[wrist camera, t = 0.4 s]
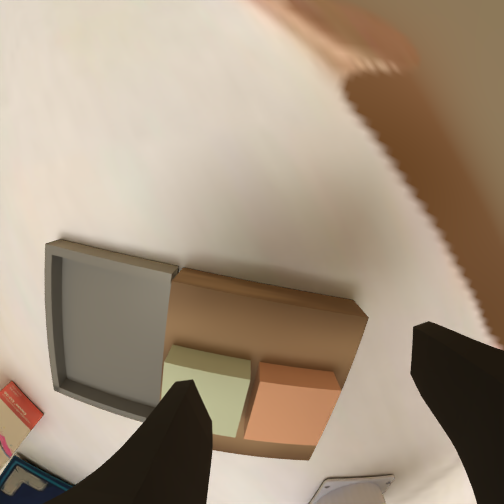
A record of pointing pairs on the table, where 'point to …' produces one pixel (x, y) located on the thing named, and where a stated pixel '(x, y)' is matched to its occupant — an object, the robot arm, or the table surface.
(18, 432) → the ink cartridge box
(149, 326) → the tray
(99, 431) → the table surface
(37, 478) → the book
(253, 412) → the tile
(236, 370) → the tile
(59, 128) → the table surface
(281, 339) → the plate
